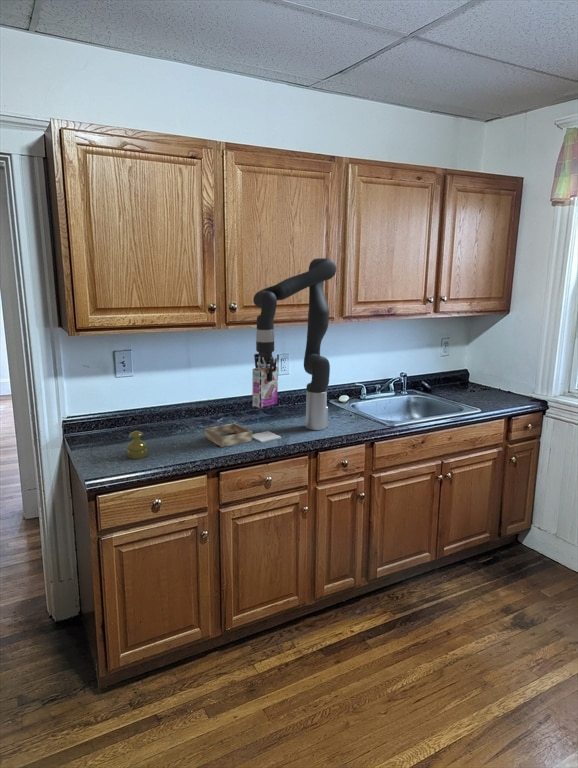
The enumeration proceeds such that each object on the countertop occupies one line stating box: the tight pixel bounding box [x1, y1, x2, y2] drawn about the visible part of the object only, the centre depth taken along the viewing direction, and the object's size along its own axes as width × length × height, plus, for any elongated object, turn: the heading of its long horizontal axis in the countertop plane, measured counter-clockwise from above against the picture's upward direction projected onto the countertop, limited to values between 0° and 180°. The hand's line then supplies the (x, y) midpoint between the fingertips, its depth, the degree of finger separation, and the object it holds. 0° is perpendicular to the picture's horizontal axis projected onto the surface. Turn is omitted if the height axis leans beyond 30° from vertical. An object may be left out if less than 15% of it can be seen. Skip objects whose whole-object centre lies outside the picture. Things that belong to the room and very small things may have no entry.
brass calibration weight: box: [126, 430, 148, 460], centre depth 203 cm, size 7×7×10 cm
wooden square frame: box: [204, 422, 253, 448], centre depth 224 cm, size 15×15×4 cm
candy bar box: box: [251, 366, 279, 409], centre depth 222 cm, size 11×5×16 cm, turn 141°
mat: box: [252, 430, 282, 443], centre depth 227 cm, size 10×10×1 cm
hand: (265, 379), depth 221 cm, fingers closed on candy bar box, 5 cm apart
